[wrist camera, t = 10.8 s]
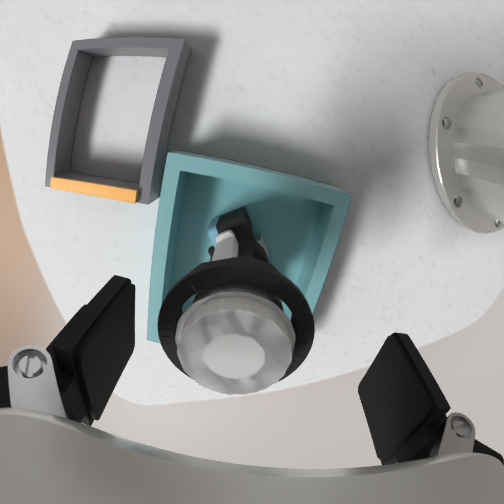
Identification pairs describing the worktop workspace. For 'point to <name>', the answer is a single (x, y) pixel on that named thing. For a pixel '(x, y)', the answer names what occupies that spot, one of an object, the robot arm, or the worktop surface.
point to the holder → (159, 123)
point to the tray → (261, 215)
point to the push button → (236, 315)
